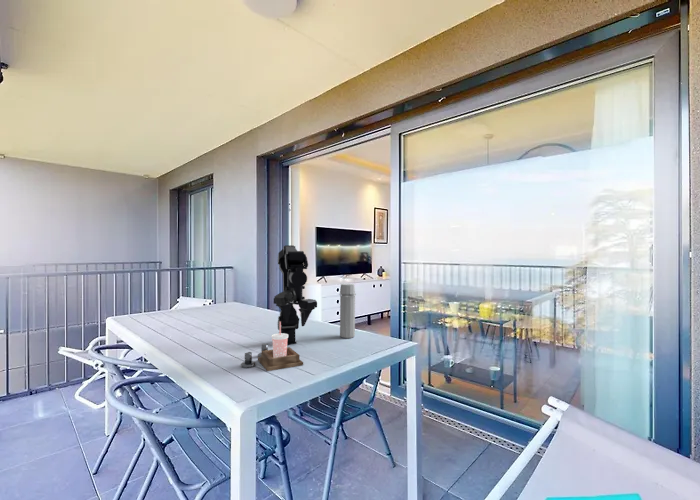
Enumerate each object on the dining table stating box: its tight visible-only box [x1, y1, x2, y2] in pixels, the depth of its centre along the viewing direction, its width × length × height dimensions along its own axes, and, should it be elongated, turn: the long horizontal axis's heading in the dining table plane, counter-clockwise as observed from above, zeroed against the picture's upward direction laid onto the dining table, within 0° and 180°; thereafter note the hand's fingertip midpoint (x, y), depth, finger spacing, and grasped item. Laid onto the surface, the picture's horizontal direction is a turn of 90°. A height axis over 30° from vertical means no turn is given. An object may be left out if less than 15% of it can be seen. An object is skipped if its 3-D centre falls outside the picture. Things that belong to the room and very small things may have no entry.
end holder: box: [257, 346, 304, 372], centre depth 123 cm, size 13×13×4 cm
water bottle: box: [338, 283, 357, 339], centre depth 160 cm, size 9×8×25 cm
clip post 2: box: [257, 343, 269, 358], centre depth 131 cm, size 5×5×4 cm
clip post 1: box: [240, 351, 256, 369], centre depth 120 cm, size 5×5×4 cm
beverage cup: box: [271, 321, 288, 358], centre depth 123 cm, size 6×6×14 cm
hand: (294, 324), depth 129 cm, fingers open, 9 cm apart
